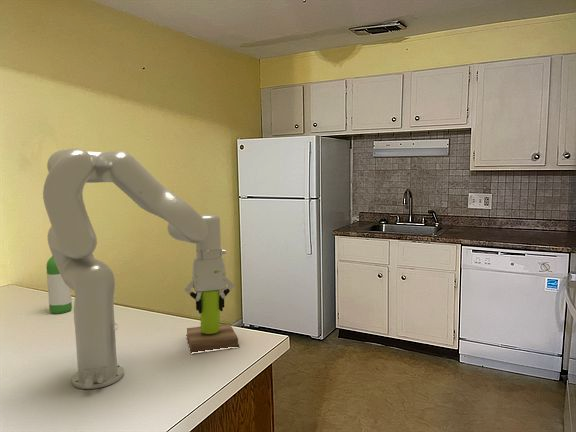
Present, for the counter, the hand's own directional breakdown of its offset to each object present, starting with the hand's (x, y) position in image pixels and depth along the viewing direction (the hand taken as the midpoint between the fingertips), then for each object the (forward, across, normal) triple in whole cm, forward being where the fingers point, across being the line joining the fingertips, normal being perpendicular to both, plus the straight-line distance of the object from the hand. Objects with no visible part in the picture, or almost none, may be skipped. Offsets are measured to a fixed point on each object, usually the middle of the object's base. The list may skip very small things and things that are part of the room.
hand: (210, 310), depth 140 cm
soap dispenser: (+7, 0, 0) cm, 7 cm away
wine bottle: (+11, +51, -51) cm, 73 cm away
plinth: (+10, 0, 0) cm, 10 cm away
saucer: (+11, +34, -24) cm, 43 cm away
